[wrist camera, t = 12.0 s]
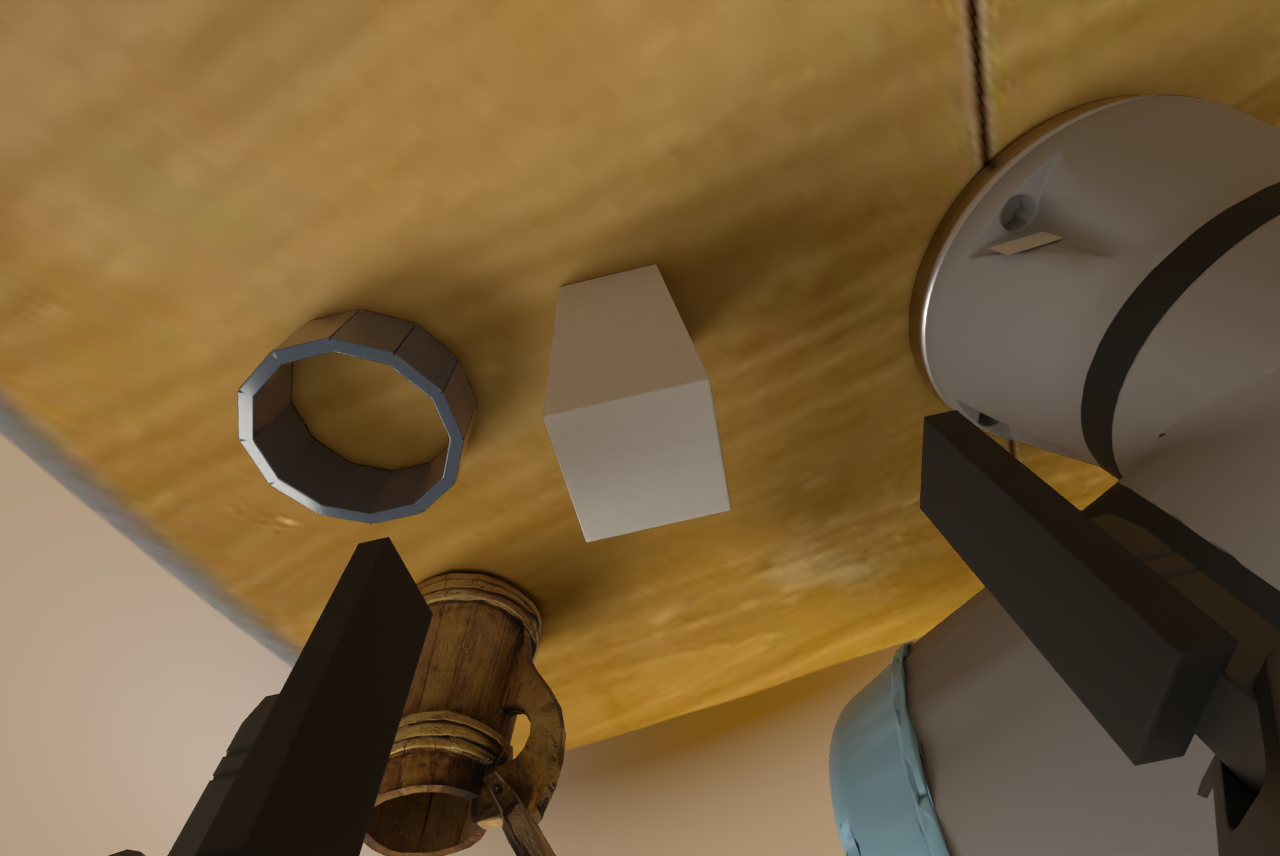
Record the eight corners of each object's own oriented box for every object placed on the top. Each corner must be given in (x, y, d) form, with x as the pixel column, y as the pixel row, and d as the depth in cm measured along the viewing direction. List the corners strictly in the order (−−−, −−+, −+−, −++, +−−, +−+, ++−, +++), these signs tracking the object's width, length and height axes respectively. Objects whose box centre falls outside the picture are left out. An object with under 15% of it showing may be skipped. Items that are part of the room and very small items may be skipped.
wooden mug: (629, 631, 36) (666, 1028, 21) (434, 687, 37) (328, 1107, 22) (581, 529, 32) (580, 938, 16) (360, 597, 33) (160, 1043, 17)
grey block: (656, 263, 25) (709, 378, 14) (674, 354, 27) (732, 510, 17) (558, 286, 25) (542, 417, 15) (584, 375, 27) (586, 543, 17)
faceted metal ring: (431, 291, 24) (410, 317, 21) (499, 456, 29) (490, 497, 26) (238, 338, 25) (190, 370, 22) (334, 494, 29) (306, 540, 26)
